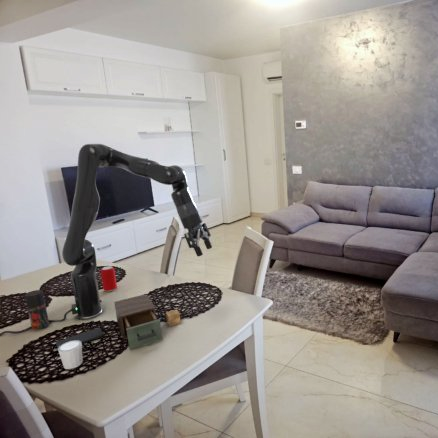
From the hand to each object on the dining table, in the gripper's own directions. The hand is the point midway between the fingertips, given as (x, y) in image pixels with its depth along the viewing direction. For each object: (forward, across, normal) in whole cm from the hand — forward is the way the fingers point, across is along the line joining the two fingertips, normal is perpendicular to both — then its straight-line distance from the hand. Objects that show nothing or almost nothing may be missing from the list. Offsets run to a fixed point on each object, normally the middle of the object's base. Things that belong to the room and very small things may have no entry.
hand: (205, 252), depth 143 cm
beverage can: (+8, -19, -71) cm, 74 cm away
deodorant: (+6, +18, -73) cm, 76 cm away
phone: (+13, +24, -50) cm, 57 cm away
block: (+23, +6, -22) cm, 33 cm away
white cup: (+16, +38, -41) cm, 58 cm away
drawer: (+20, +20, -26) cm, 39 cm away
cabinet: (+19, +12, -35) cm, 41 cm away
